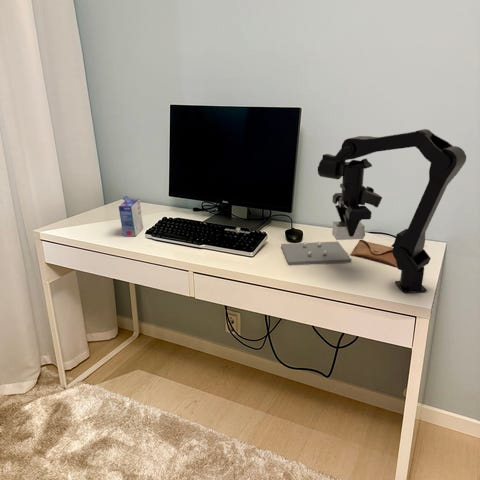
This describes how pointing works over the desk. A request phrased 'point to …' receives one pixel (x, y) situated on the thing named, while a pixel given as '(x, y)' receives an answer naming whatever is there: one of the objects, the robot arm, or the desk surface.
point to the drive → (342, 232)
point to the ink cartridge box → (131, 217)
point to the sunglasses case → (374, 252)
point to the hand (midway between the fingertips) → (348, 233)
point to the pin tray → (314, 253)
